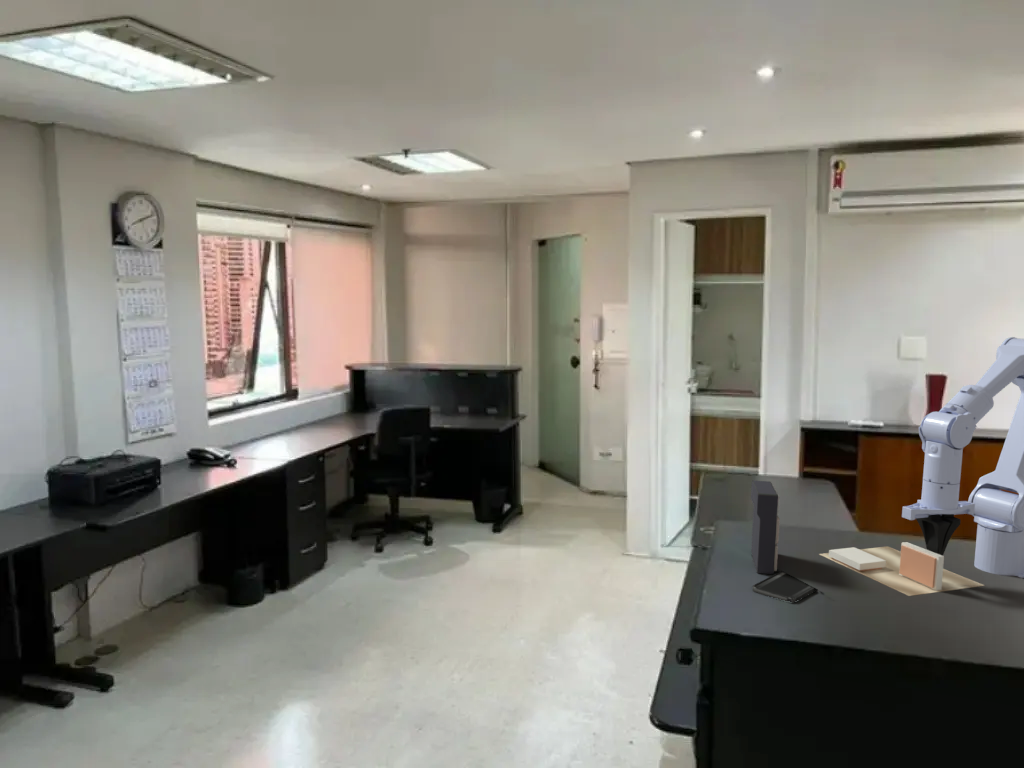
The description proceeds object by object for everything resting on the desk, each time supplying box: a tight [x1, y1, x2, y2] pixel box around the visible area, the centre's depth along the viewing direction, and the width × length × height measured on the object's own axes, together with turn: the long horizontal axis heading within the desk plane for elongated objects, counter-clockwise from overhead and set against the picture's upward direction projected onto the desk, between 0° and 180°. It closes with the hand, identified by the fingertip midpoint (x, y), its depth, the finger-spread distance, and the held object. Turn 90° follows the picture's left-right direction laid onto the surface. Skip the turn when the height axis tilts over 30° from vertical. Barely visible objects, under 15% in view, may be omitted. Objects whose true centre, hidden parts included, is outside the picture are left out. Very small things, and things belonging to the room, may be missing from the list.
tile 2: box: [899, 541, 945, 591], centre depth 136 cm, size 2×8×6 cm, turn 19°
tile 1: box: [828, 547, 886, 571], centre depth 146 cm, size 2×8×6 cm
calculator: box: [750, 480, 781, 575], centre depth 146 cm, size 11×4×15 cm, turn 168°
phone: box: [752, 570, 819, 602], centre depth 136 cm, size 8×1×15 cm
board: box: [818, 545, 985, 597], centre depth 144 cm, size 17×22×1 cm
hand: (934, 555), depth 137 cm, fingers closed
